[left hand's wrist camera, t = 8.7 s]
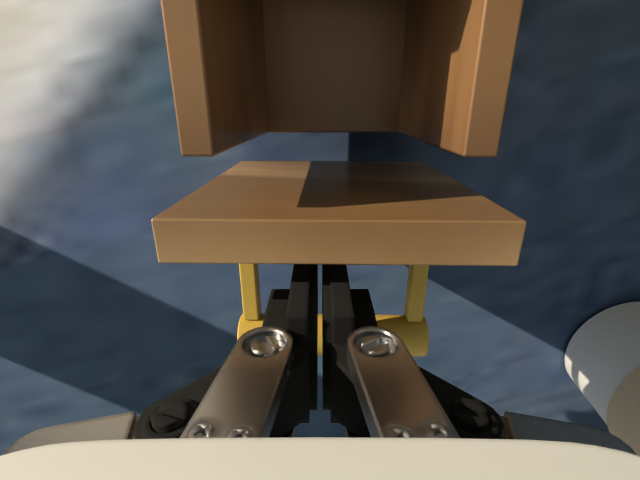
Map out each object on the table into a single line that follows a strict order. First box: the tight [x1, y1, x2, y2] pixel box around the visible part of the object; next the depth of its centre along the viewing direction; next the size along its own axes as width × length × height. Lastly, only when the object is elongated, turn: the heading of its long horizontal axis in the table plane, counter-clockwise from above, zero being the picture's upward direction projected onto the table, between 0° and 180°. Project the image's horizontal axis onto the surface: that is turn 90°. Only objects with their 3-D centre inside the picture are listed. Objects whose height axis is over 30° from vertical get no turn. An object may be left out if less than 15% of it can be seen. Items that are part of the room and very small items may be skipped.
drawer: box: [151, 0, 527, 356], centre depth 12 cm, size 22×9×10 cm, turn 0°
